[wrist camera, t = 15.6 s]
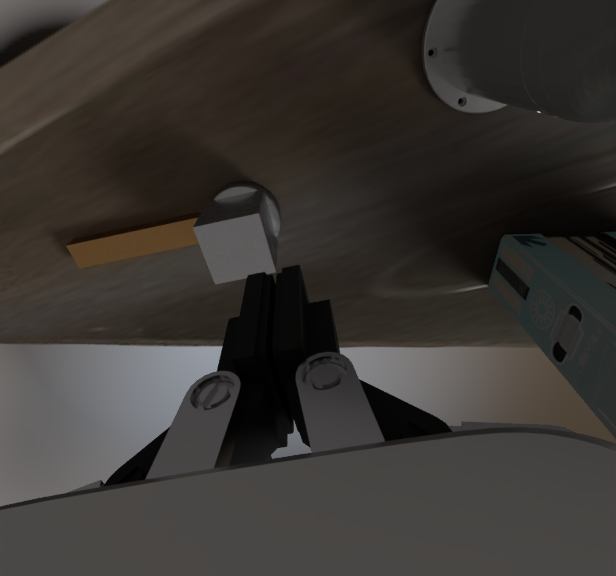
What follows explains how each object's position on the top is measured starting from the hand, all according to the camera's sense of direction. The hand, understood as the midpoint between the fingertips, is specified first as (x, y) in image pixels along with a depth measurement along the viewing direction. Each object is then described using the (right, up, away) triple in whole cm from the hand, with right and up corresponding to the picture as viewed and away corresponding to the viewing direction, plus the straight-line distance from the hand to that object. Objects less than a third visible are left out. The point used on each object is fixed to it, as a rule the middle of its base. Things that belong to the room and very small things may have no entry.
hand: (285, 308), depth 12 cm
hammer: (-15, +8, +33) cm, 37 cm away
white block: (-6, +8, +30) cm, 31 cm away
